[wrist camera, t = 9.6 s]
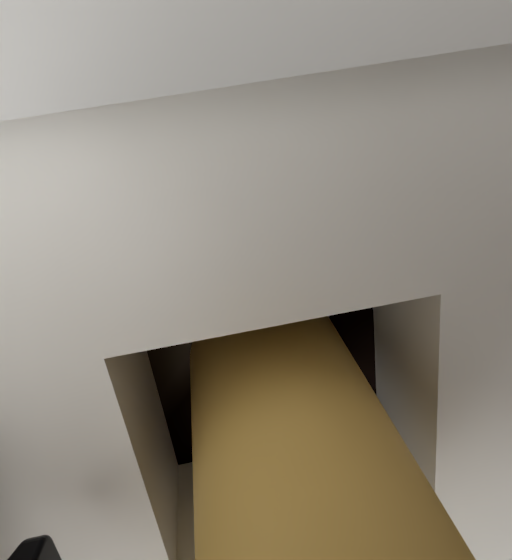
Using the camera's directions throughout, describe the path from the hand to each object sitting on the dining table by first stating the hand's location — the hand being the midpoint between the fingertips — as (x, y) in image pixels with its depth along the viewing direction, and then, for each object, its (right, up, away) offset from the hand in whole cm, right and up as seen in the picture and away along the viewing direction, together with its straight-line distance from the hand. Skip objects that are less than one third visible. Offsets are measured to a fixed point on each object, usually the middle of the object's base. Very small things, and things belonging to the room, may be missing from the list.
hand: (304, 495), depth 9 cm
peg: (-1, +2, +4) cm, 5 cm away
